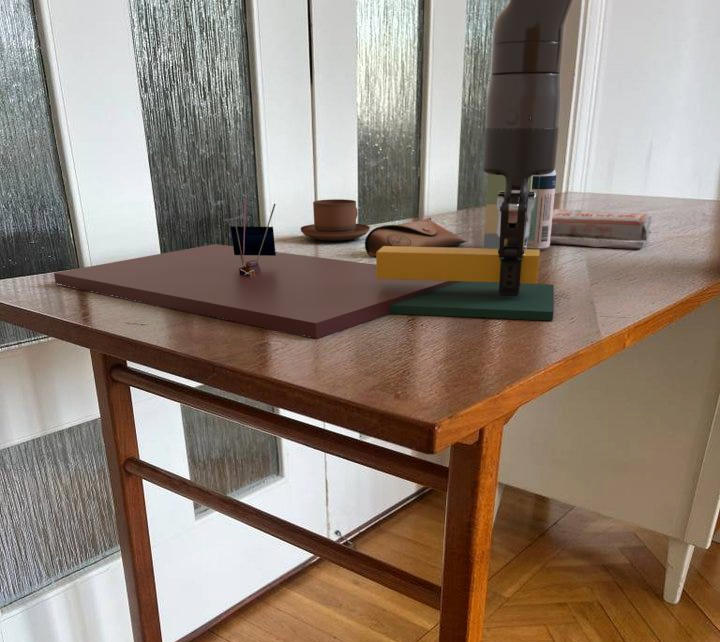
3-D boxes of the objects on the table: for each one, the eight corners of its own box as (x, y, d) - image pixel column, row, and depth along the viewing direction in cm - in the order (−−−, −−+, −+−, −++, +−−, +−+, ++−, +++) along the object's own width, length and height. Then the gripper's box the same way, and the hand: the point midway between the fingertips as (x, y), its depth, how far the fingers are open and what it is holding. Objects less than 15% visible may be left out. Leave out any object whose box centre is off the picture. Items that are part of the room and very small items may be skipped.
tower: (526, 256, 114) (533, 170, 109) (524, 263, 109) (532, 174, 103) (486, 255, 115) (491, 170, 110) (482, 262, 110) (488, 173, 105)
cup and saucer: (315, 233, 138) (314, 197, 135) (378, 235, 135) (378, 198, 132) (290, 242, 128) (288, 204, 125) (357, 245, 125) (356, 206, 122)
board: (55, 284, 99) (40, 202, 94) (215, 254, 119) (209, 185, 114) (316, 338, 74) (312, 230, 69) (463, 288, 94) (467, 201, 89)
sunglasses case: (410, 257, 111) (391, 214, 110) (377, 277, 116) (358, 237, 115) (469, 241, 124) (453, 203, 123) (437, 260, 129) (421, 223, 128)
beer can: (550, 246, 121) (557, 166, 116) (548, 251, 117) (556, 168, 112) (519, 246, 123) (526, 166, 117) (517, 250, 118) (523, 168, 113)
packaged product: (655, 210, 123) (648, 218, 115) (651, 241, 125) (643, 250, 117) (546, 206, 130) (531, 212, 122) (543, 235, 133) (529, 243, 125)
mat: (552, 292, 91) (553, 284, 91) (552, 321, 79) (553, 311, 79) (375, 286, 96) (375, 278, 95) (349, 312, 84) (349, 303, 83)
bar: (537, 276, 86) (539, 249, 85) (536, 283, 83) (539, 255, 81) (383, 272, 90) (383, 246, 89) (376, 278, 86) (376, 251, 85)
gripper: (559, 125, 71) (542, 307, 79) (558, 122, 83) (544, 279, 91) (479, 126, 73) (470, 304, 80) (490, 123, 85) (481, 277, 93)
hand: (509, 290), depth 86 cm, fingers closed on bar, 4 cm apart
